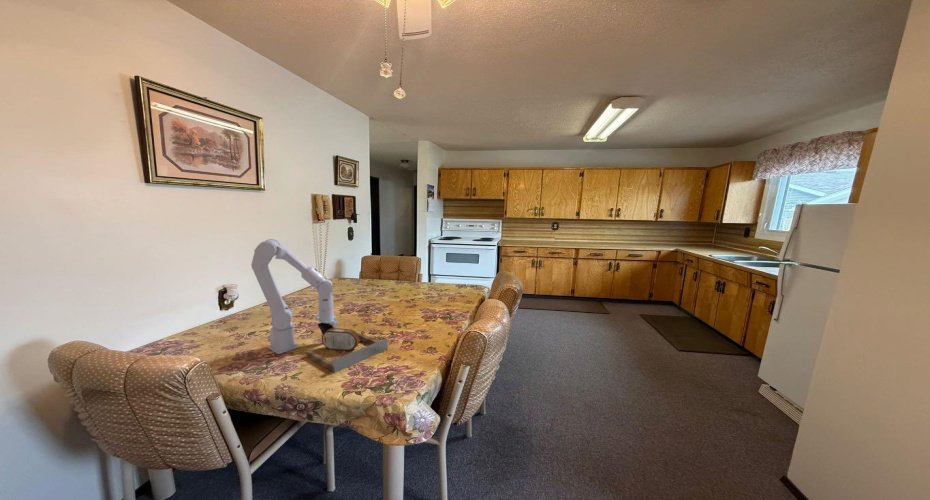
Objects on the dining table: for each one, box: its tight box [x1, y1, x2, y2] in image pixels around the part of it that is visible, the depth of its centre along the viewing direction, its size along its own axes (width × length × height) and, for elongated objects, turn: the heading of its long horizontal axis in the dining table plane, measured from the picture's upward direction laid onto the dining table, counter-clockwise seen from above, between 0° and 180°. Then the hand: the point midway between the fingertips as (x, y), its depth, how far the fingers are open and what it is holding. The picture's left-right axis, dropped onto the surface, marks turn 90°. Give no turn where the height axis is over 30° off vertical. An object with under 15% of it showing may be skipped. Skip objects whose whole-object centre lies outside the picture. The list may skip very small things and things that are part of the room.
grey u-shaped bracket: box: [306, 332, 389, 374], centre depth 118 cm, size 19×23×4 cm
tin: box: [321, 327, 361, 352], centre depth 121 cm, size 15×3×8 cm, turn 84°
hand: (327, 339), depth 127 cm, fingers closed
